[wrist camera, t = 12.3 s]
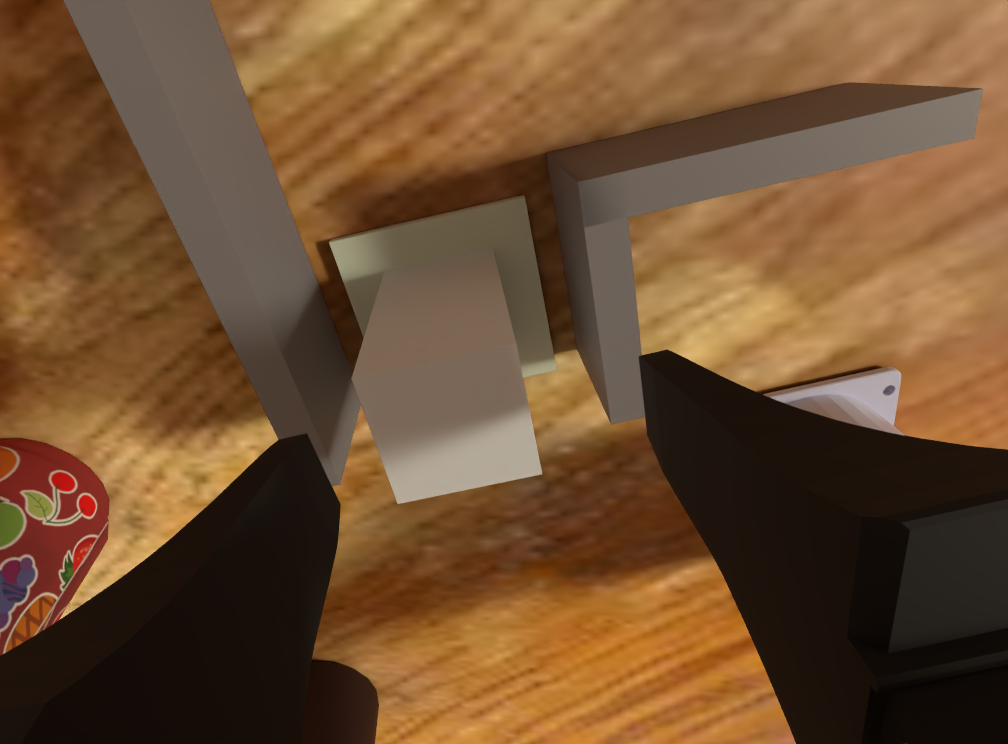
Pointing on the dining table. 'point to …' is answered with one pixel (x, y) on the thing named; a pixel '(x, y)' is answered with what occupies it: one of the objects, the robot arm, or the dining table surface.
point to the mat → (451, 237)
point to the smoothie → (44, 534)
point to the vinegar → (339, 706)
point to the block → (445, 380)
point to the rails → (573, 177)
